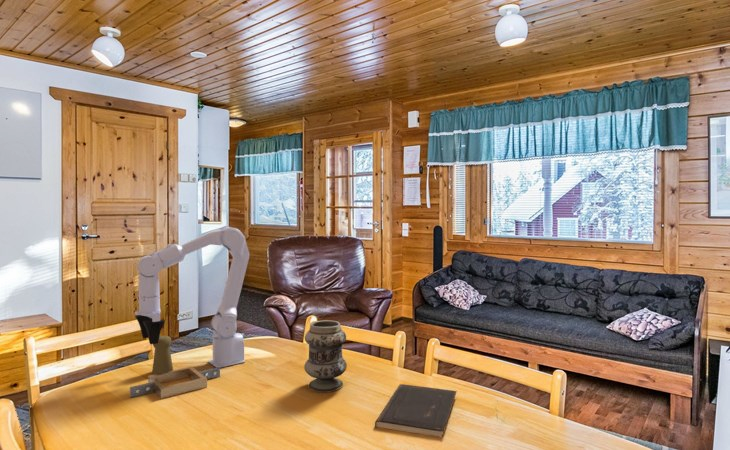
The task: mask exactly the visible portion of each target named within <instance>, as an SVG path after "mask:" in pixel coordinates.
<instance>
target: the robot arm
mask: <svg viewBox="0 0 730 450" xmlns="http://www.w3.org/2000/svg"><path fill="white" fill-rule="evenodd" d="M211 245H212V246H214V245H215V246H223V247H224V248H225V249H227V251H228V252H229V254H230V256H232V260H231V262H230V267H229V271H228V275H227V279H226V282H225V286H224V291H223V294H222V298H221V302H220V304H219V305H218V307H217V310H216V313H215V315H214V316H212V319H211V321H210V322H211V327H212V328H213V330H214V331H213V333H212V335H211V336H212V358H211V359H209V360H208V363H210V365H212V366H213V367H214V368H217V367H219V368H220V369H221V368H225V367H228V366H233V365H238V364H242V363H245V362H246V360H245V341H244V340H245V339H244V336H243V335H242V334H241V333H239V332H237V328H238V324H237V318H238V311H237V307H238V303H239V299H240V295H241V292H242V289H243V283H244V279H245V276H246V272H247V267H248V263H249V261H250V260H249V259H250V255H251V254H250V251H249V247H248V244H247V241H246V236H245V235H244V234H243V232H242V231H241V230H240V229H238V228H236V227H231V226H227V225H226V226H223V227H221V228H216V229H214V230H210V231H208V232H207V233H205V234H202V235H200V236H197V237H195V238H194V239H191V240H190V241H188V242H186V243H184V244H182V245H181V244H180V245H179V244H177V243H173V244H171V243H168V244H166V247H163V248H162V249H160V250H158V251H154V250H153V251H152V252H150V254H151V255H143V256H141V257H140V259H139V260H138V262H137V265H136V267H137V270H138V271H139V273H138V283H137V284H138V285H137V287H138V311H137V310H136V311H135V312H134V315H135V319H136V320H137V323H138V325H139V327H140V328H139V329H140V331H141V332H140V333H141V336H142V338H143V339H148V343H149V345H153V344H157V343H158V341H159V336H161V333H162V328H163V326H164V324H165V322H166V320H165V319H164V318H163V319H161V312H162V309H161V300H160V299H161V297H160V295H161V294H160V293H161V292H160V279H159V273H160V271H161V270H165V269H168V268H170V267H172V266H174V265H177V264H178V263H181V262H183V261H184V259H185V257H186V256H187V255H188V254H189V255H190V253H193V252H195V251H199V250H200V249H203V248H205V247H208V246H211ZM236 332H237V333H236Z"/></svg>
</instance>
